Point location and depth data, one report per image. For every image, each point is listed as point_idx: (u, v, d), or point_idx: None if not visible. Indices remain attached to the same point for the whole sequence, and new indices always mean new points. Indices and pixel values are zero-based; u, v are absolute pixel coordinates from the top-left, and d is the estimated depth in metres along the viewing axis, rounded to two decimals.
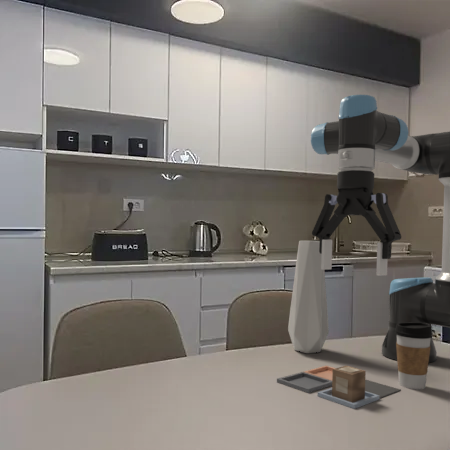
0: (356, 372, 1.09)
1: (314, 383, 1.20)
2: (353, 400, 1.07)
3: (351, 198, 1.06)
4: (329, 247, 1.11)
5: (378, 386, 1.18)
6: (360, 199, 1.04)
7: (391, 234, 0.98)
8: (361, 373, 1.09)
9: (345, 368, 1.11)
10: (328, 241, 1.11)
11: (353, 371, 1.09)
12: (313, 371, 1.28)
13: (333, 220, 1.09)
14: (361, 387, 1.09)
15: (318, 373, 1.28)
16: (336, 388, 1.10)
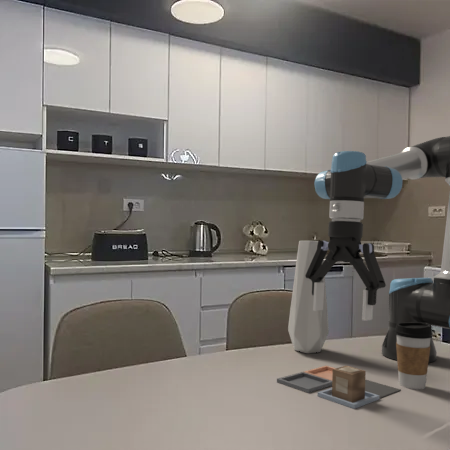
0: (356, 372, 1.09)
1: (314, 383, 1.20)
2: (353, 400, 1.07)
3: (341, 246, 1.14)
4: (321, 289, 1.19)
5: (378, 386, 1.18)
6: (349, 248, 1.12)
7: (375, 283, 1.06)
8: (361, 373, 1.09)
9: (345, 368, 1.11)
10: (320, 284, 1.19)
11: (353, 371, 1.09)
12: (313, 371, 1.28)
13: (324, 265, 1.17)
14: (361, 387, 1.09)
15: (318, 373, 1.28)
16: (336, 388, 1.10)
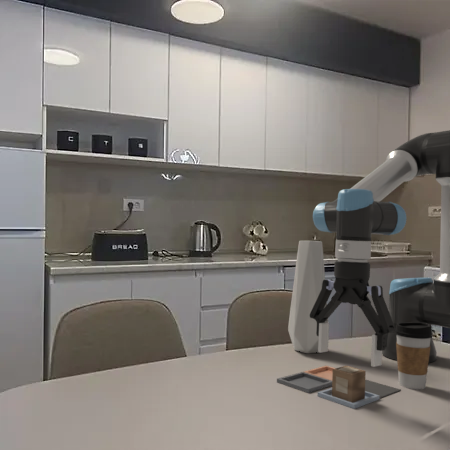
0: (356, 372, 1.09)
1: (314, 383, 1.20)
2: (353, 400, 1.07)
3: (347, 287, 1.09)
4: (326, 330, 1.15)
5: (378, 386, 1.18)
6: (356, 289, 1.08)
7: (385, 328, 1.02)
8: (361, 373, 1.09)
9: (345, 368, 1.11)
10: (325, 324, 1.15)
11: (353, 371, 1.09)
12: (313, 371, 1.28)
13: (330, 306, 1.13)
14: (361, 387, 1.09)
15: (318, 373, 1.28)
16: (336, 388, 1.10)
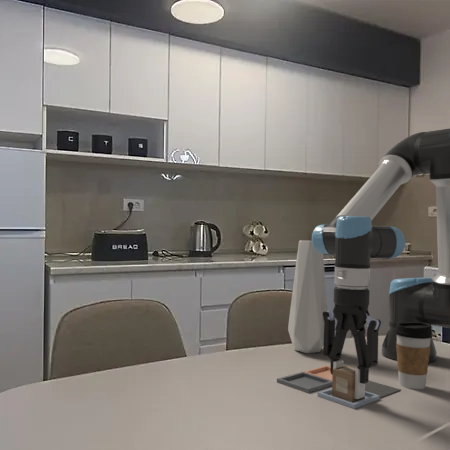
0: None
1: (314, 383, 1.20)
2: (353, 400, 1.07)
3: (346, 307, 1.10)
4: None
5: (378, 386, 1.18)
6: (355, 314, 1.08)
7: (369, 362, 1.05)
8: None
9: (345, 368, 1.11)
10: (339, 363, 1.12)
11: (353, 371, 1.09)
12: (313, 371, 1.28)
13: (337, 338, 1.11)
14: None
15: (318, 373, 1.28)
16: (336, 388, 1.10)
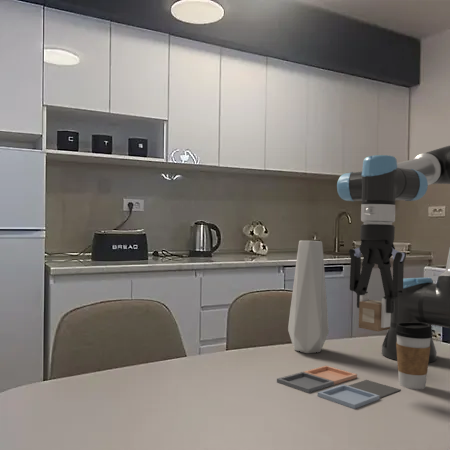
0: None
1: (314, 383, 1.20)
2: (379, 329, 1.13)
3: (372, 243, 1.16)
4: None
5: (378, 386, 1.18)
6: (382, 248, 1.14)
7: (395, 292, 1.11)
8: None
9: (371, 301, 1.17)
10: (365, 296, 1.18)
11: (379, 302, 1.15)
12: (313, 371, 1.28)
13: (364, 272, 1.17)
14: None
15: (318, 373, 1.28)
16: (363, 319, 1.16)
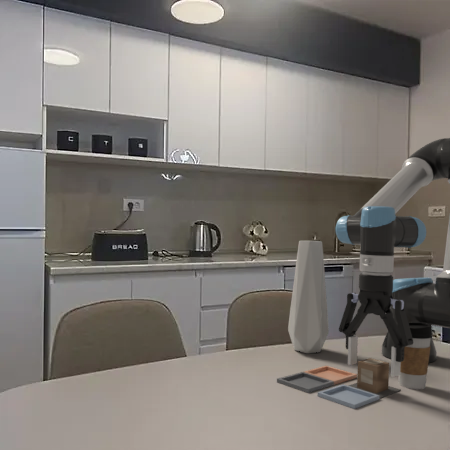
0: (380, 364, 1.15)
1: (314, 383, 1.20)
2: (378, 390, 1.13)
3: (372, 297, 1.16)
4: (355, 343, 1.21)
5: None
6: (380, 300, 1.14)
7: (404, 341, 1.10)
8: (385, 365, 1.15)
9: (369, 360, 1.17)
10: (354, 338, 1.20)
11: (377, 363, 1.15)
12: (313, 371, 1.28)
13: (357, 318, 1.19)
14: (385, 378, 1.15)
15: (318, 373, 1.28)
16: (361, 379, 1.16)
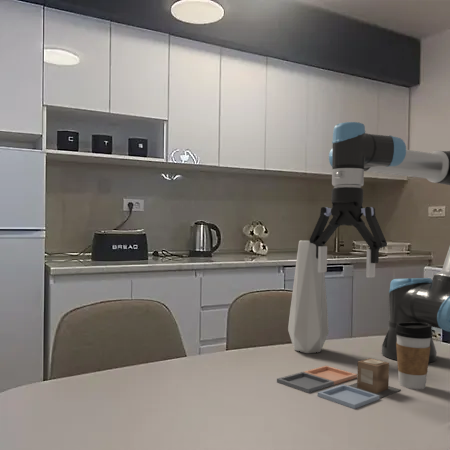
0: (380, 364, 1.15)
1: (314, 383, 1.20)
2: (378, 390, 1.13)
3: (344, 211, 1.23)
4: (324, 252, 1.28)
5: None
6: (351, 212, 1.21)
7: (378, 242, 1.16)
8: (385, 365, 1.15)
9: (369, 360, 1.17)
10: (323, 247, 1.28)
11: (377, 363, 1.15)
12: (313, 371, 1.28)
13: (328, 229, 1.26)
14: (385, 378, 1.15)
15: (318, 373, 1.28)
16: (361, 379, 1.16)
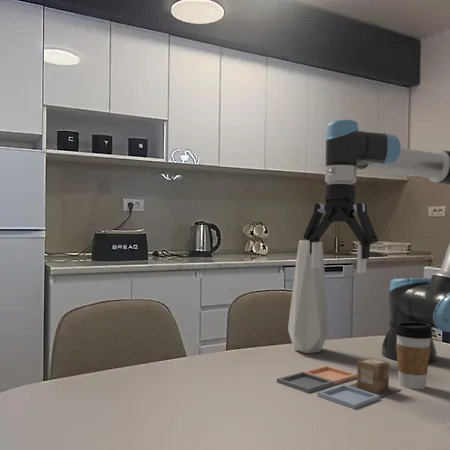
0: (380, 364, 1.15)
1: (314, 383, 1.20)
2: (378, 390, 1.13)
3: (336, 207, 1.24)
4: (318, 248, 1.30)
5: None
6: (343, 208, 1.23)
7: (369, 238, 1.17)
8: (385, 365, 1.15)
9: (369, 360, 1.17)
10: (317, 243, 1.30)
11: (377, 363, 1.15)
12: (313, 371, 1.28)
13: (321, 226, 1.28)
14: (385, 378, 1.15)
15: (318, 373, 1.28)
16: (361, 379, 1.16)
